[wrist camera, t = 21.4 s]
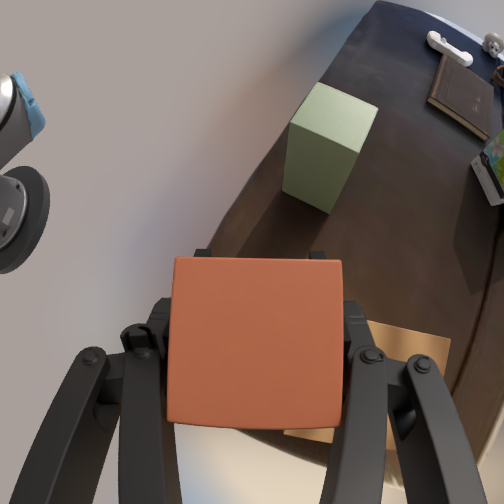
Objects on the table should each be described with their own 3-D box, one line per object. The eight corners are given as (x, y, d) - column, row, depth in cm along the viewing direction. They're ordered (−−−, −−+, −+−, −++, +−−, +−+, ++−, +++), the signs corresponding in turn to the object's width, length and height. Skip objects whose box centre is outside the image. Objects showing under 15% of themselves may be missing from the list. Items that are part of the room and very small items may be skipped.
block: (213, 385, 17) (165, 422, 8) (216, 301, 18) (174, 255, 9) (300, 388, 17) (341, 427, 8) (302, 303, 18) (342, 258, 9)
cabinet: (278, 414, 37) (283, 434, 28) (306, 317, 41) (319, 308, 32) (390, 433, 36) (421, 451, 26) (414, 342, 39) (451, 338, 30)
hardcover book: (489, 92, 55) (493, 87, 53) (485, 143, 50) (490, 137, 48) (440, 59, 58) (443, 53, 56) (425, 102, 53) (429, 95, 50)
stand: (329, 214, 45) (358, 153, 30) (281, 191, 47) (289, 122, 31) (348, 174, 47) (378, 108, 32) (303, 153, 49) (317, 81, 33)
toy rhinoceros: (477, 54, 61) (488, 36, 52) (480, 42, 63) (489, 26, 55) (496, 68, 59) (507, 50, 51) (497, 55, 62) (507, 39, 54)
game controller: (475, 55, 56) (474, 61, 52) (469, 66, 60) (467, 73, 55) (432, 27, 59) (426, 30, 54) (427, 38, 62) (421, 43, 58)
